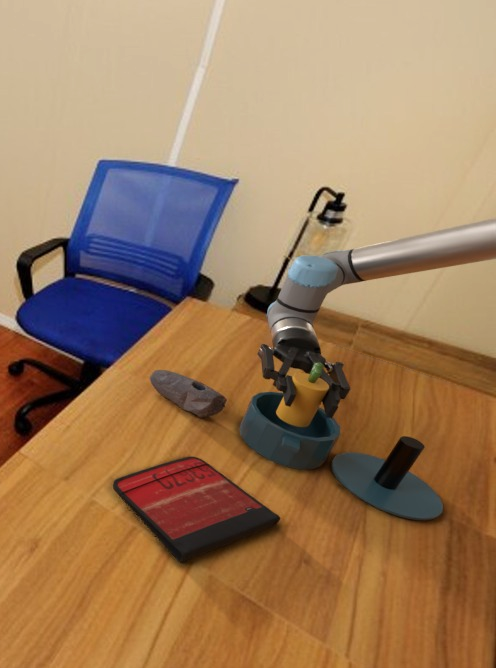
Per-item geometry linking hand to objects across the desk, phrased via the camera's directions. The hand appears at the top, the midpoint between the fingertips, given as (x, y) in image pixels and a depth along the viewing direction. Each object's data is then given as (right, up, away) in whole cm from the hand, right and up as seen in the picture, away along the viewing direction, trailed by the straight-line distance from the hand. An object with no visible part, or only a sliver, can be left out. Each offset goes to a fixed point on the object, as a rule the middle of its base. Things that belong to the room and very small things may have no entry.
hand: (311, 406), depth 91 cm
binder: (-24, -17, -2) cm, 30 cm away
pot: (+3, -10, +10) cm, 15 cm away
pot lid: (+13, -14, 0) cm, 20 cm away
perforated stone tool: (-10, -5, +21) cm, 24 cm away
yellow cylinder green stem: (+3, -4, +7) cm, 9 cm away
